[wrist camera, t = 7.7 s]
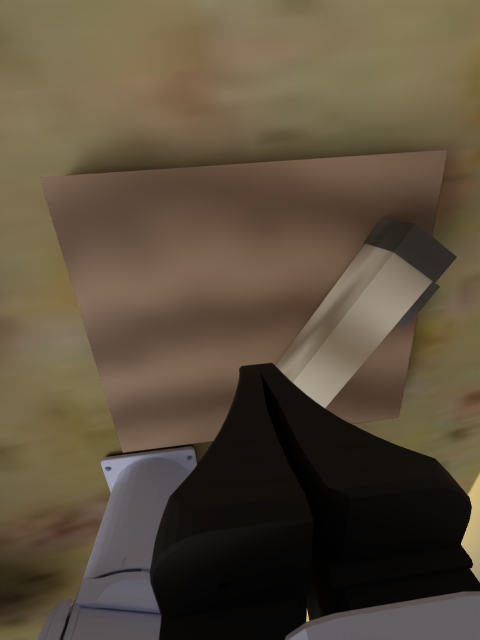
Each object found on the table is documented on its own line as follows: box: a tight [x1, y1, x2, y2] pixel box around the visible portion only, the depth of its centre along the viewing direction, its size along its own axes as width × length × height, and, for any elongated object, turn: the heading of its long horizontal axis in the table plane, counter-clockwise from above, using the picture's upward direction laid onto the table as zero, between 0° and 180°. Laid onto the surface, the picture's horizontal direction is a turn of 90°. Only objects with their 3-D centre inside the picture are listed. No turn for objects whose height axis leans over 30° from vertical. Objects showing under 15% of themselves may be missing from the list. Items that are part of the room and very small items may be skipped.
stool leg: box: [276, 219, 457, 408], centre depth 19 cm, size 17×3×3 cm, turn 148°
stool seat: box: [39, 150, 448, 453], centre depth 20 cm, size 19×22×5 cm
